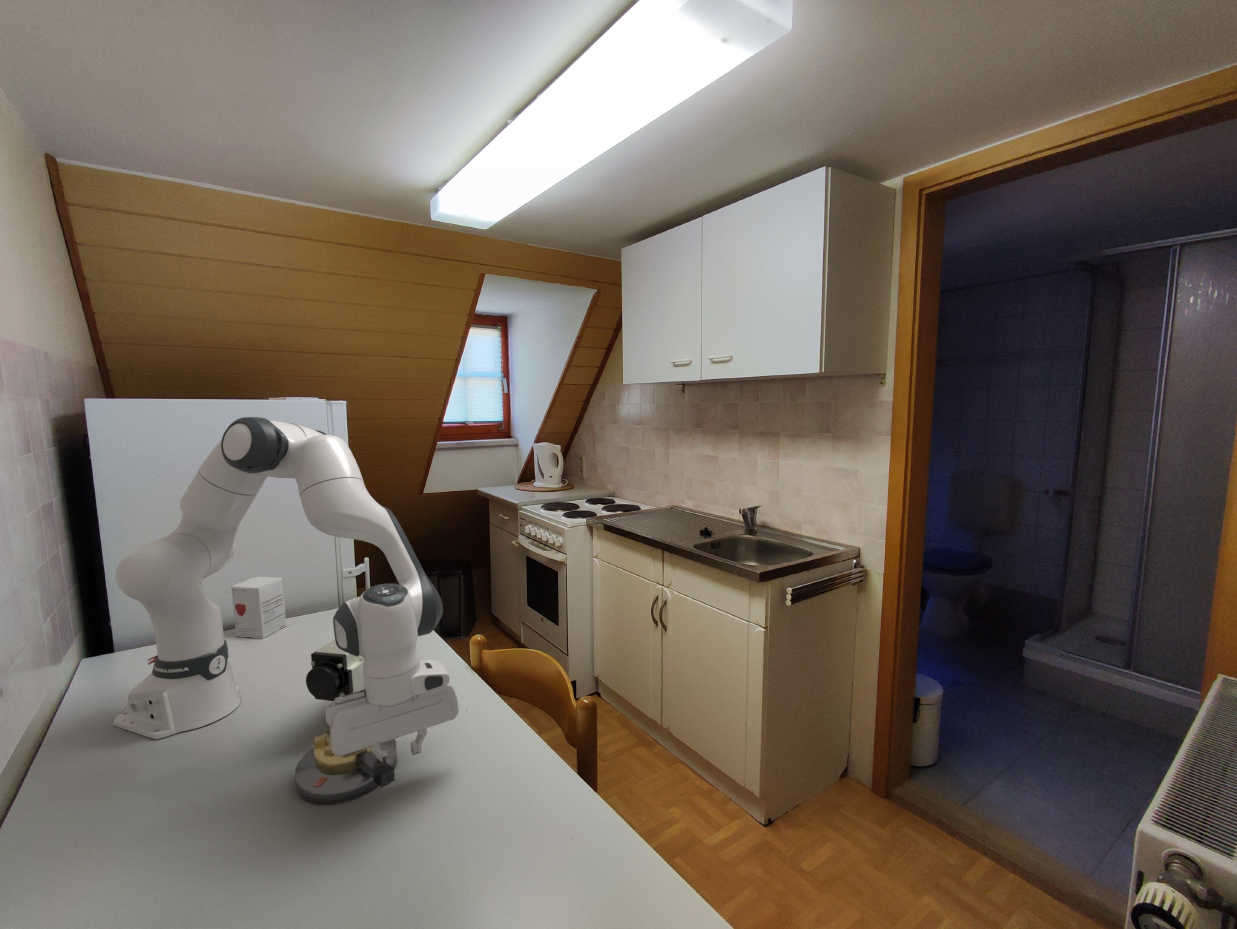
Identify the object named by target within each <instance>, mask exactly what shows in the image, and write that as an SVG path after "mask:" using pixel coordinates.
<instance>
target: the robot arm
mask: <svg viewBox="0 0 1237 929" xmlns="http://www.w3.org/2000/svg"><path fill="white" fill-rule="evenodd" d="M269 477H270V478H275V479H295V481H296V485H297V490H298V493H299V498H300V501H301V502H300V503H301V505H302V509H303V512H304V514H305V517H306V518H307V521H308V522H309V524H310V525H311V526H312V527H313V528H315V529H317V531H320V532H321V533H323V534H326V535H328V536H331V537H336V538H342V539H349V540H356V541H363V542H365V543H366V542H367V543H369V544H373V545H374V546H376V547H378V548H379V549H380V551H382V552H383V555H385V556H384V557H385V558H386V560H387V562H388V564H389V565H390V568H391V570H392V571H393V572H392V573H393V574H394V576H395V579H396V580H397V583H398V584H397V583H381V584H377V585H374V586H371V587H369V588H367V589H365V591H363V592H362V593H361V595H360V596H357V597H354V598H351V599H349V600H346V601H344V602H342V603H341V605H340V606H339V607H338V608H337V610H336V612H335V613H334V616H333V618H332V623H333V625H332V626H333V632H334V633H333V634H334V640H335V641H336V645H337V647H338V648H339V649H341V650H343V651H345V652H347V653H349V654H351V655H354V656H357V657H358V656H362V657H363V658H364V669H363V675H364V686H365V689H364V690H361V691H358V692H354V693H351V694H349V695H346V696H340V697H337V698H335V700H334V701H330V702H329V703H328V705H327V706H326V707H325V710H324V717H325V723H326V724H327V725H328V726H329V725H330V742H331V751H332V753H333V754H334V755H336V756H337V757H340V756H343V755H346V754H349V753H352V752H355V751H359V750H362V749H365V748H368V747H370V748H371V752H372V753H373V754H374V755H375V756H376V757H377V758H378V759H379V761H382V762H383V763H385V762H386V763H388V764H389V755H388V752H387V750H385V751H381V750H380V743H383V742H386V741H389V740H392V739H395V740H396V739H399V738H401V737H404V736H407V735H410V734H413V733H416V732H417V735H416V736H415V740H412V741H409V742H410V751H411V755H412V756H416V755H418V754H421V753H422V752H423V751H422V749H423V748H422V744H423V742H424V740H425V738H426V737H427V734H428V728H431V727H434V726H437V725H438V726H439V725H441V724H444V723H446V722H451V721H453V720H455V719H456V718H457V716H458V715H459V709H460V708H459V702H458V696H457V693H456V689H455V688H454V686H453V684H452V682H451V680H450V674H449V670H448V669H447V667H446V666H445V664H443V662H442V661H440V660H438V659H421V658H420V655H419V653H418V650H417V642H418V637H421V636H425V635H426V636H427V635H429V634H431V633H432V632H433V631H434V630H435V629H436V627H437V626H438V624H439V622H440V620H441V618H442V615H443V613H444V607H443V602H442V599H441V596H440V594H439V591H438V590H437V588H436V587H435V586H434V584H433V583H432V582H431V580H430V579H429V577H428V576H427V574H426V572H425V570H424V568H423V567H422V565H421V563H420V560H419V559H418V557H417V555H416V553H415V551H414V550H413V547H412V545H411V544H410V541H409V538H408V537H407V536H406V533H405V531H404V529H403V528H402V527H401V524H400V523H399V521H398V519H397V517H396V516H395V515H394V513H393V511H392V510H391V509H389V508H388V507H385V506H382V505H381V504H379V503H378V501H376V500H375V499H374V498H373V497H372V496H371V494H370V493H369V491H368V490H367V488H366V485H365V482H364V481H365V480H364V479H363V476H362V473H361V470H360V467H359V465H358V463H357V461H356V458H355V457H354V455H353V452H352V450H351V449H350V447H349V445H348V444H347V442H346V441H345V440H343V439H342V438H341V437H339V436H337V435H332V434H328V433H326V432H323V431H321V430H315V429H312V428H310V427H306V426H304V425H300V424H297V423H294V422H286V421H279V420H271V419H268V418H264V417H261V416H260V417H259V416H258V417H257V416H246V417H240V418H237V419H236V420H233V421H232V422H231V423H230V424H229V425H228V426H227V427H226V429H225V431H224V432H223V434H222V437H221V439H220V441H219V442H218V443H217V444H216V445H215V446H214V447H213V449H212V450H211V451H210V452H209V453H208V455H207V456H206V458H205V460H204V461H203V462H202V464H201V466H200V467H199V469H198V470H197V472H196V474H195V475H194V477H193V478H192V480H191V482H190V483H189V485H188V486H187V488H186V490H185V492H184V494H183V495H182V496H181V498H180V501H179V508H180V511H181V513H182V515H181V518H180V522H179V524H178V526H177V528H175V529H174V530H173V531H172V532H171V533H170V534H169V535H166V536H164V537H162V538H159V539H156V540H154V541H153V540H152V541H150V542H148V543H145V544H143V545H141V546H140V547H137V549H135V550H133V551H132V552H130V553H128V554H127V555H126V556H125V557H124V558H123V559H122V560H120V562H119V563H118V565H117V567H116V569H115V576H114V577H115V582H116V584H117V587H118V588H119V589H120V591H121V592H122V593H123V594H124V595H126V596H127V597H128V598H130V599H132V600H136V601H138V602H139V603H140V604H141V605H142V606H143V608H144V609H145V611H146V612H147V614H148V617H149V618H150V621H151V623H152V627H153V631H154V640H155V646H156V651H157V652H156V654H157V655H154V656H152V657H151V658H148V659H147V660H146V661H147V662H148V661H149V662H148V663H147V665H152V664H153V668H152V671H151V673H150V674H148V675H147V676H146V677H145V678H144V679H143V680H142V681H141V682H140V683H138V684H137V685H135V687H133V688H132V689H131V691H129V693H128V695H127V708H126V710H123V711H122V712H120V714H118V715H117V716H116V717H115V718H114V719H113V726H114V727H117V728H120V729H123V730H127V731H130V732H132V733H135V734H137V735H138V734H139V735H142V736H144V737H147V738H151V739H154V740H159V739H164V738H166V737H169V736H172V735H175V734H177V733H181V732H186V731H190V730H196V729H198V728H201V727H205V726H207V725H209V724H212V723H214V722H217V721H219V720H220V719H222V718H224V717H226V716H228V715H229V714H231V713H232V712H233V711H234V710H236V709H237V708H238V707H239V705H240V703H241V698H240V695H239V692H240V686H239V685H238V684H236V681H235V678H234V672H233V668H232V664H231V661H230V659H229V646H228V642H227V640H226V639H225V636H224V627H223V619H222V618H223V617H222V611H221V607H220V605H218V604H217V603H215V602H214V601H210V600H209V598H208V596H207V595H206V593H205V591H204V588H203V587H204V586H203V580H204V579H206V578H207V577H210V576H212V575H213V574H215V573H217V572H219V571H220V570H221V569H222V568H224V567H225V566H226V565H227V564H228V563H229V561H231V559H232V558H233V557H234V555H235V553H236V547H237V546H236V540H235V539H236V535H237V533H238V529H239V526H240V525H241V523H242V520H243V518H244V517H245V515H246V513H247V512H248V510H250V509H249V508H250V507H251V505H252V503H253V502H254V500H255V499H256V497H257V496H258V494H259V492H260V490H261V488H262V487H263V485H264V483H265V482H266V480H267V479H268V478H269Z"/></svg>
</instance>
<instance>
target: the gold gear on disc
mask: <svg viewBox="0 0 1237 929" xmlns="http://www.w3.org/2000/svg"><path fill="white" fill-rule="evenodd" d="M380 750H381V751H385V750H387V752H388V755H389V765H390V766H392V767H393V768H394V771H395V770H396V767H397V764H398V753H397V752H398V750H397V741H396V738H395V739H392V740H389V741H386V742H383V743H380ZM375 757H376V756H375ZM376 758H377V757H376ZM377 759H378V758H377ZM294 772H295V774H294V775H295V784H296V792H297V795H298V797H299V798H300V799H302V800H303V801H304V802H306V803H308V804H311V805H316V806H331V805H333V806H334V805H338V804H344V803H346V802H347V803H348V802H351V801H354V800H356V799H359V798H361V797H364V796H365V795H367V794H369V793H371V792H373V791H374V790H376V789H377V788H379V787H380V786H379V785H377V784H376V783H375V782H374V779H373V778H372V777H371V776H369V775H368V774H367V773H366V772H364V771H363V770H362V769H360V768H359V767H358V768H356V769H354V770H351V771H348V772H344V773H338V774H327V773H323V772H320V771H319V770H318V769H317V768H316V766H315V757H314V746H313V747H311V748H310V749H309V750H308V751H306V753H304V754H303V756H302V757H301V758H300V759H299V761H298V762H297V763H296V767H295V770H294Z"/></svg>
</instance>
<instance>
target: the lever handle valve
mask: <svg viewBox="0 0 1237 929" xmlns="http://www.w3.org/2000/svg"><path fill="white" fill-rule="evenodd" d="M313 743H314V745H313V747H314V757H315V766H316V768H317V769H318V770H319V771H320V772H323V773H327V774H338V773H344V772H348V771H351V770H354V769H356V768H358V767H359V768H360V769H362V770H363V771H364V772H366V773H367V774H368V775H369V776H371V777H372V778H373V779H374V782H375V783H376V784H377V785H379V787H380V788H381V789H383V788H385V787H386V786H388V785H389V784H391V783H393V782H395V781H396V780H395V770H394V768H393V767H392V766H390V765H389V764H388V763H386V762H385V763H383V762H382V761H379V759H377V758H376V757H375V755H374V754H373V753H372V752H371V748H370V747H368V748H365V749H362V750H359V751H355V752H352V753H349V754H346V755H343V756H340V757H337V756H336V755H334V754H333V753H332V751H331V742H330V725H328V731H326V732H324V733H323V734H321V735H319V736H318V735H317V736H315V737H314V741H313Z"/></svg>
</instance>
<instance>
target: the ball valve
mask: <svg viewBox="0 0 1237 929" xmlns="http://www.w3.org/2000/svg"><path fill="white" fill-rule="evenodd" d="M310 659H311V662H310V666H311V669H310V670H309V671H308V672H307V673H306V677H305V685H306V687H307V691H308V692H309V694H311V695H312V696H313V698H314V699H315V700H321V701H326V702H327V701H328V702H332V701H334V700H335V698H337V697H340V696H346V695H349V694H351V693H354V692H358V691H361V690H364V689H365V686H364V675H363V669H364V658H363V657H362V656H358V657H357V656H354V655H351V654H349V653H347V652H345V651H343V650H341V649H339V648H338V647H337V645H336V641H335V639H333V640H331V641H330V642H328V643H327V644H325V645H324V646H322V647H320V648H318V649H316V651H314V652H312V653H311V654H310Z"/></svg>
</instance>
